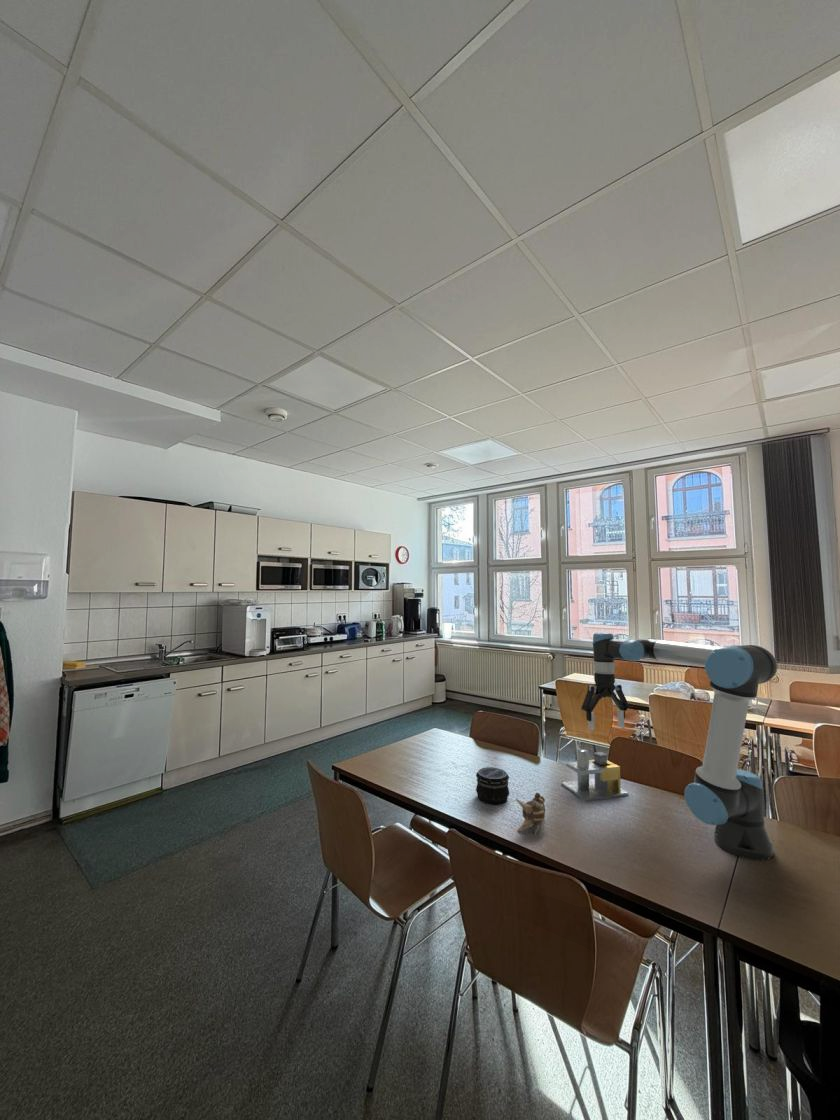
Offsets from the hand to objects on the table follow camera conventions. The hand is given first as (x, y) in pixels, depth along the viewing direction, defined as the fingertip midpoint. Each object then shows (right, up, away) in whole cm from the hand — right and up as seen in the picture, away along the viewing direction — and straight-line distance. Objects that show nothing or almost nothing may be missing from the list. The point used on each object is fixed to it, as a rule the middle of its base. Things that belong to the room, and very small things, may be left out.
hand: (606, 728), depth 174 cm
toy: (-33, -26, -21) cm, 47 cm away
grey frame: (-1, -29, +9) cm, 30 cm away
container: (-44, -27, 0) cm, 52 cm away
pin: (+2, -28, +10) cm, 30 cm away
